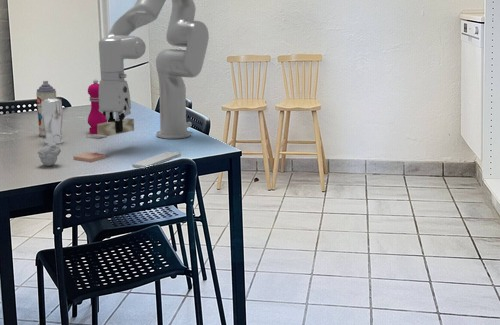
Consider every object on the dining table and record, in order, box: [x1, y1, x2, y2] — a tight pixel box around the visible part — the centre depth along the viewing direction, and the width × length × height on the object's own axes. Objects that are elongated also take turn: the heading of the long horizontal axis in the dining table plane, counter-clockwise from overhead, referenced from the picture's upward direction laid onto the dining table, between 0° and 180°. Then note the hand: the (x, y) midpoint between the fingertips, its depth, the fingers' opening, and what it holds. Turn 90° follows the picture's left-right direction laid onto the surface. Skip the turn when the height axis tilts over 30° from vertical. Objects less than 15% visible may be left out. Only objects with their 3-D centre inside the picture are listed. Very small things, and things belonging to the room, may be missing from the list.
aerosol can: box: [36, 80, 57, 138], centre depth 240 cm, size 7×7×20 cm
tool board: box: [131, 151, 182, 169], centre depth 206 cm, size 19×5×1 cm, turn 153°
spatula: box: [85, 117, 135, 140], centre depth 217 cm, size 20×5×4 cm, turn 153°
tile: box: [73, 151, 107, 163], centre depth 209 cm, size 2×7×7 cm
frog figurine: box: [37, 143, 62, 167], centre depth 199 cm, size 6×7×7 cm
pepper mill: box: [87, 79, 108, 135], centre depth 246 cm, size 7×7×20 cm
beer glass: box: [42, 98, 64, 145], centre depth 229 cm, size 7×7×15 cm
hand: (115, 131), depth 219 cm, fingers closed on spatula, 2 cm apart
